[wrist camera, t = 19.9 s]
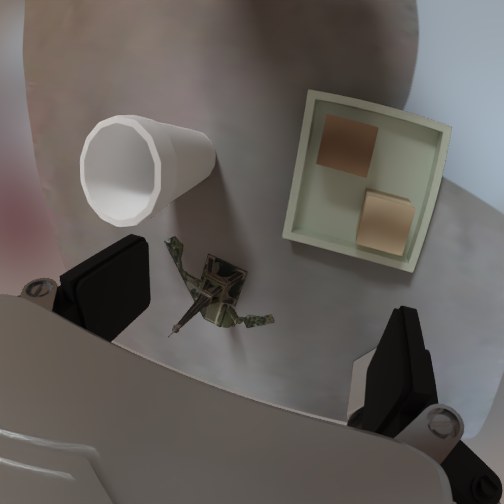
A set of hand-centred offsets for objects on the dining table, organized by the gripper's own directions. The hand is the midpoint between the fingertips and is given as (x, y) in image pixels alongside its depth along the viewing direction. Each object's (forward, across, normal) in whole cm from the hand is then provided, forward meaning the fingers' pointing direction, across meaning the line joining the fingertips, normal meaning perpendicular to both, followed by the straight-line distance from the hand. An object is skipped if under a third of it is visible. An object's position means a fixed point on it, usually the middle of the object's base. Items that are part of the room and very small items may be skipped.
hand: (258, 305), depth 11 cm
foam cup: (+24, +16, 0) cm, 28 cm away
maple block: (+22, -6, +2) cm, 23 cm away
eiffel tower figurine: (+24, +10, +14) cm, 30 cm away
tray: (+24, -4, -2) cm, 24 cm away
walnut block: (+23, -2, -4) cm, 23 cm away
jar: (+23, -13, +21) cm, 34 cm away
